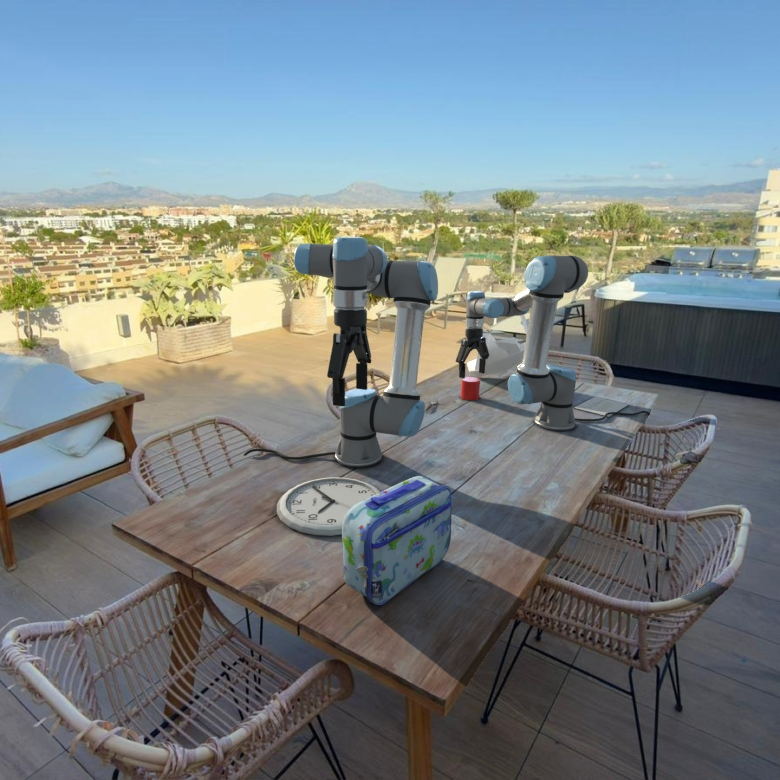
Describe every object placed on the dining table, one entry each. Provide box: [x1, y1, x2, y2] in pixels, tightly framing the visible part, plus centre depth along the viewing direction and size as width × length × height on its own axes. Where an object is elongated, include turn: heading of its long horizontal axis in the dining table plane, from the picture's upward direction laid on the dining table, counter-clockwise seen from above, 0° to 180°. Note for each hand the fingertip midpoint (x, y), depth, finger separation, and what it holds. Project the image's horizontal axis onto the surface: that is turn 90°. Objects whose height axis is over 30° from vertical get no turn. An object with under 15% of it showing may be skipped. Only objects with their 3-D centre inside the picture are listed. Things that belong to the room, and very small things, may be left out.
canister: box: [460, 376, 481, 401], centre depth 234 cm, size 8×8×9 cm
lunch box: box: [341, 475, 453, 606], centre depth 111 cm, size 26×11×21 cm, turn 134°
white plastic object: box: [466, 314, 548, 378], centre depth 259 cm, size 37×45×31 cm
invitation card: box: [573, 396, 629, 418], centre depth 226 cm, size 21×1×15 cm
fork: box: [425, 396, 439, 412], centre depth 222 cm, size 3×16×2 cm, turn 160°
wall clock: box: [276, 476, 382, 537], centre depth 142 cm, size 30×2×30 cm
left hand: (350, 396), depth 125 cm, fingers open, 13 cm apart
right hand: (472, 375), depth 232 cm, fingers open, 13 cm apart
